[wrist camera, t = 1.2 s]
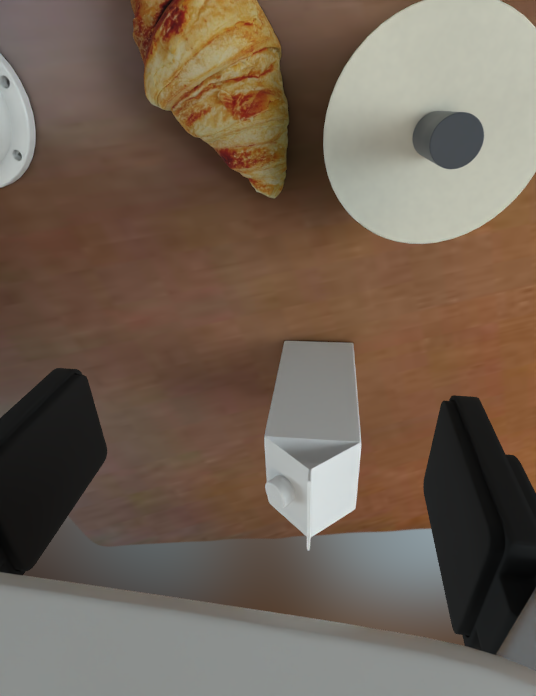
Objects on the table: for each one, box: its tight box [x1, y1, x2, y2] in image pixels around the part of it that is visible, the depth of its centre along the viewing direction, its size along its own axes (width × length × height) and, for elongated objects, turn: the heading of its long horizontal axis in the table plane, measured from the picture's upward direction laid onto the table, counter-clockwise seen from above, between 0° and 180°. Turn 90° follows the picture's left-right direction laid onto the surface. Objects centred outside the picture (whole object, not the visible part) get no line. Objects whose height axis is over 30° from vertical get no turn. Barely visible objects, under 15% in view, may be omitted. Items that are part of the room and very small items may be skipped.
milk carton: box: [264, 341, 361, 550], centre depth 37 cm, size 7×7×19 cm
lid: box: [323, 0, 536, 244], centre depth 24 cm, size 14×14×7 cm
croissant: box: [130, 0, 289, 199], centre depth 30 cm, size 21×10×8 cm, turn 29°
